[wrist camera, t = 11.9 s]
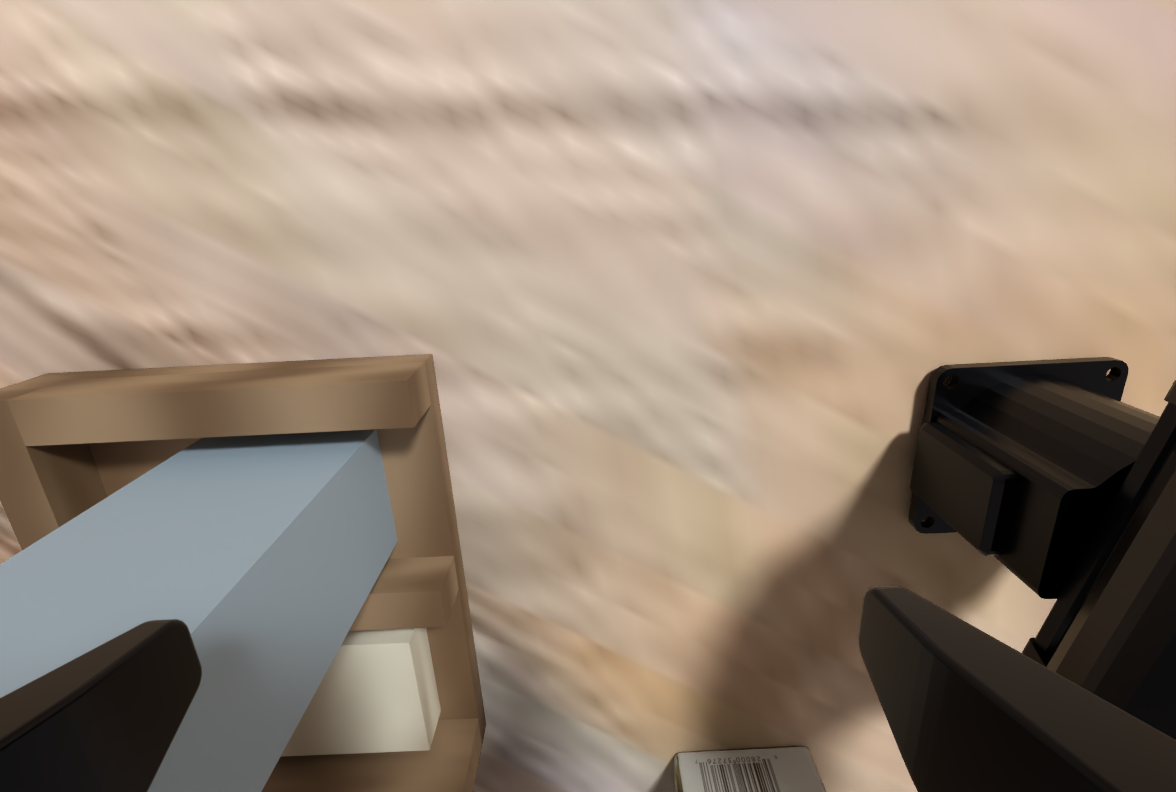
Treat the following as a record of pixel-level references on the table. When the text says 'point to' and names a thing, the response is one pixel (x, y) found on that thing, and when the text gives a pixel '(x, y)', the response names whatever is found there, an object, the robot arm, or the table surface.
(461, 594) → the book rack
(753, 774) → the coffee box
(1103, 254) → the table surface
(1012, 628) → the table surface
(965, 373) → the robot arm
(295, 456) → the blue-gray rectangular box
